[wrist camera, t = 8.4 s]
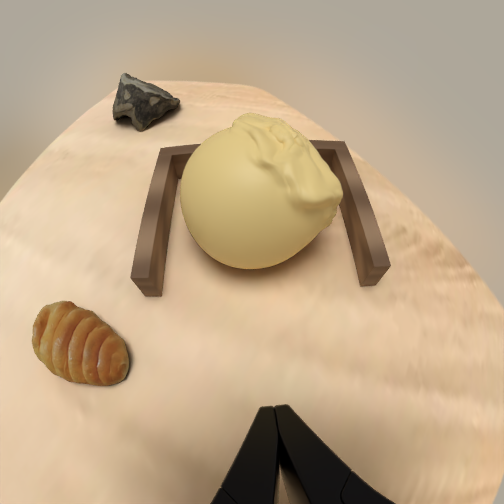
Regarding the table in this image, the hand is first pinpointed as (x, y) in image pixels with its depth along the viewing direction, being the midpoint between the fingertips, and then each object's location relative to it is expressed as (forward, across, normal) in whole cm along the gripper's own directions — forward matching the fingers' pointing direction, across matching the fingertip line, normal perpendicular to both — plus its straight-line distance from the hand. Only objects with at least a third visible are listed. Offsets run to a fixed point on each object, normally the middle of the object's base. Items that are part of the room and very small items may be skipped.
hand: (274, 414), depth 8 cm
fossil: (+38, +14, -20) cm, 45 cm away
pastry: (+13, +15, +5) cm, 21 cm away
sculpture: (+20, -1, -3) cm, 21 cm away
